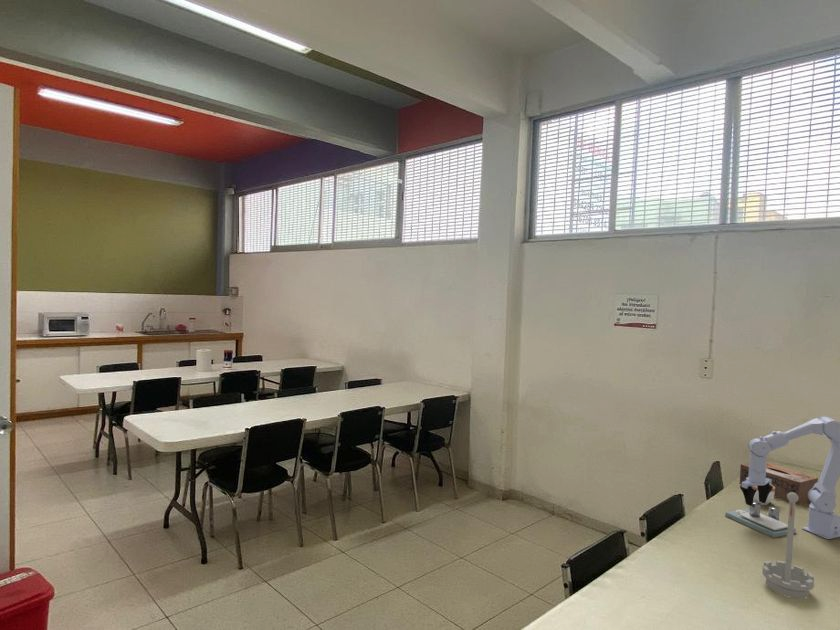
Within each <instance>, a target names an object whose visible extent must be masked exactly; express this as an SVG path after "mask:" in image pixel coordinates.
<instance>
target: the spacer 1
mask: <svg viewBox="0 0 840 630" xmlns="http://www.w3.org/2000/svg"><path fill="white" fill-rule="evenodd" d="M761 506H762V505H761V504H760V503H758V502H754V501H753V504H752V506H750V505H749V515H750V516H752V517H756V518H759V517H760V513H761V508H762V507H761Z"/></svg>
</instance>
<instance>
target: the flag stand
mask: <svg viewBox="0 0 840 630" xmlns="http://www.w3.org/2000/svg"><path fill="white" fill-rule="evenodd" d="M787 499H788V500H789V501H788V503H789V505H788V518H787V525H788V532H787V535H786V551H785V561H783V560H775V563H772V561H770V560H766V561H764V562H763V565H762V575H763V577H764V578H765V585H766V586H767V587H768V588H769V589H770V590H771V589H772V592H775V593H776V594H779V595H781V594H782V596H784V595H785V597H787V596H790V597H789V598H791V597H794V598H793V599H798V598H802V599H806V598H805V597H807V598H809V597H810V591H811V590H812V589H814V587H815V576H814V575H813V574H812V573H811V572H804V570H805V569H804V568H803V567H801V566H798V565H796V564H793V562H792V561H793V549H794V548H793V546H794V535H795V533H794V528H795V516H796V513H795V512H796V504H795V502H797V501H798V499H799V497H798V495H797V494H796V493H794V492H790V493H788V494H787ZM792 564H793V565H792ZM792 566H793V567H792Z"/></svg>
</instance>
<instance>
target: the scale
mask: <svg viewBox="0 0 840 630" xmlns="http://www.w3.org/2000/svg"><path fill="white" fill-rule="evenodd" d="M749 510H750V508H747V507H746V508H740V509H736V510H729V511H725V512H724V516H725V517H726V518H729V519H731V520H733V521H736V522H738V523H740V524H743V525H744V526H747V527H749V528H752V529H753V530H756V531H758V532H761V533H762V534H764V535H766V536H770V537H772V538H775V539H776V538H779V537H784V536H787V532H788V523H784V522H783V521H780V520H779V521H778V520H775V519H773V518H771V517H768V516H767V515H766V514H763V513H761V512H760V517H759V518H756V517H752V516H750V515H749ZM796 530H797V529H796V528H795V527H794V534H796Z"/></svg>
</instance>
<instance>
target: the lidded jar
mask: <svg viewBox="0 0 840 630" xmlns="http://www.w3.org/2000/svg"><path fill="white" fill-rule="evenodd" d="M769 485H771V484H769ZM771 486H773V485H771ZM752 488H753V489H754V490H757V491H756V493H755V495H754V498H753V501H754V502H758V503H760V504H761V506H767V505H769V504H770V503H771V502H772V501H773V500H774V499H775V496H774V495H775V486H773V489H772V490H771V491H770V493H769V495H768V497H767V500H766V502H765V503H762V502H759V492H758V487H757V486H753V487H752Z"/></svg>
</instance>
